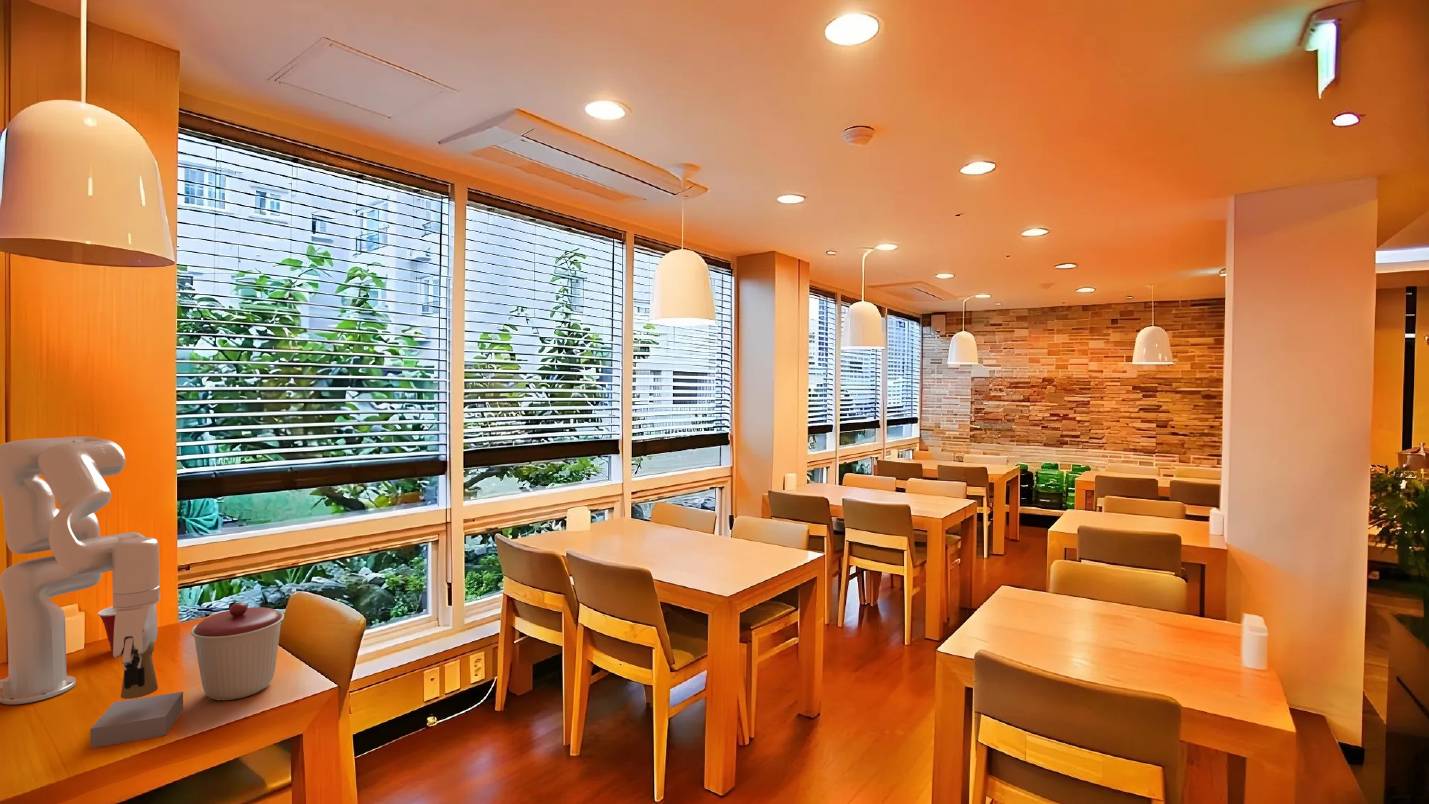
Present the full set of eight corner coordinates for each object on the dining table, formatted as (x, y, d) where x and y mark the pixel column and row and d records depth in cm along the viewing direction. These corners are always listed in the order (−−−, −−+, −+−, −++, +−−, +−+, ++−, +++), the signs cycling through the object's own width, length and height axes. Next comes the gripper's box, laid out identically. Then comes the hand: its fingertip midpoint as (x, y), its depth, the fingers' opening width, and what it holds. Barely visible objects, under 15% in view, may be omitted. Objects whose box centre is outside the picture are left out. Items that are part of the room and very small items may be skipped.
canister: (211, 717, 146) (210, 622, 145) (178, 695, 155) (176, 606, 154) (299, 685, 161) (298, 599, 160) (263, 667, 171) (262, 586, 170)
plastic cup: (119, 642, 185) (118, 599, 185) (161, 640, 186) (160, 598, 186) (86, 658, 175) (85, 613, 174) (131, 657, 176) (130, 612, 175)
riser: (90, 748, 133) (90, 728, 133) (114, 720, 144) (114, 702, 144) (165, 735, 138) (165, 716, 138) (183, 708, 149) (183, 691, 149)
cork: (165, 686, 143) (164, 636, 143) (138, 699, 137) (137, 647, 137) (140, 684, 144) (139, 634, 144) (112, 698, 138) (111, 646, 138)
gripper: (129, 588, 146) (131, 669, 147) (97, 612, 131) (99, 703, 131) (171, 583, 149) (173, 663, 150) (145, 607, 134) (147, 696, 135)
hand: (138, 681), depth 141 cm, fingers closed on cork, 4 cm apart
